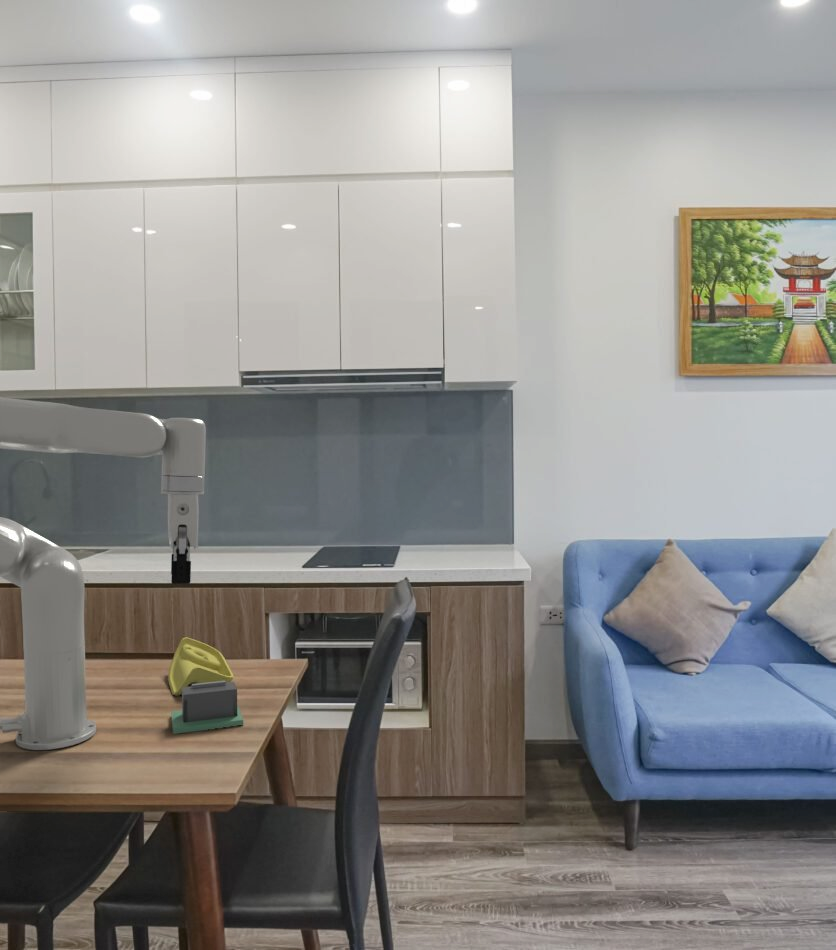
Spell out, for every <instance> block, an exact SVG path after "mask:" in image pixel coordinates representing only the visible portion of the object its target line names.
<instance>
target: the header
mask: <svg viewBox="0 0 836 950" xmlns="http://www.w3.org/2000/svg"><path fill="white" fill-rule="evenodd" d="M171 723H172V724H171V725H172V734H173V735H174V734H183V733H185V734H186V733H191V732H192V733H193V732H200V731H209V730H208V729H210V730H216V729H215V728H218V729H224V728H223V727H226V728H231V727H230V726H234V727H237V726H236V725H242V726H244V718H243V715H242V713H241V710H240V707H239V704H238V703H237V716H234V717H225V718H217V719H209V720H200V721H192V722H183V716H182V709H181V710H172V711H171Z"/></svg>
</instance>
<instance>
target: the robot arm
mask: <svg viewBox="0 0 836 950" xmlns="http://www.w3.org/2000/svg"><path fill="white" fill-rule="evenodd" d="M206 434H207V428H206V424H205V422H204V421H203V420H202V419H199V418H190V417H189V418H188V417H169V418H167V419H165V418H158V417H155V416H154V415H151V414H148V413H144V412H143V413H142V412H133V411H121V410H110V409H101V408H92V407H91V408H89V407H83V406H76V405H70V404H66V403H58V402H53V401H52V402H51V401H40V400H38V401H37V400H30V399H21V398H19V399H18V398H11V397H10V398H9V397H1V396H0V449H3V450H13V451H27V452H29V451H30V452H38V453H40V452H41V453H51V454H52V453H53V454H68V453H70V454H74V453H75V454H77V453H78V454H79V453H81V454H96V455H97V454H98V455H110V456H121V457H132V458H133V457H134V458H149V457H152V456H157V455H158V456H160V455H161V485H160V488H161V489H160V494H163V495H167V533H168V542H169V548H170V549H172V553H171V562H170V563H171V565H170V566H171V568H170V569H171V570H170V574H171V584H172V585H188V584H190V583H191V579H192V578H191V577H192V576H191V574H192V573H191V571H192V570H191V569H192V561H191V555H190V554H191V547H192V548H193V550H196V549H198V548H199V513H200V510H199V506H200V505H199V496H200V495H204V494H205V472H206V471H205V470H206V440H207V437H206V436H207V435H206ZM0 578H2V579H4V580H6V581H7V582H9V583H12V584H13V585H15V586H17V587H19V588H20V590H21V591H20V596H21V598H20V599H21V600H20V601H21V613H22V614H21V616H22V639H23V640H22V642H23V644H22V645H23V663H24V667H23V668H24V704H25V706H24V707H25V708H24V709H25V710H24V713H23V714H18V715H17V716H15V717H2V718H1V717H0V731H2V734H7V733H12V732H17V733H16V735H15V743H16V745H17V746H18V747H19V748H21V749H24V750H31V751H48V750H49V751H50V750H58V749H62V748H67V747H72V746H75V745H77V744H80V743H82V742H84V741H87V740H89V739H90V738H92V737H93V736H94V735H95V734H96V733H97V723H96V722H95V721H94V720H92V719H89V718H87V695H86V694H87V687H86V685H87V684H86V680H87V678H86V645H85V643H86V642H85V639H86V638H85V589H86V588H85V580H84V573H83V570H82V567H81V564H80V562H79V560H78V559H77V558H76V557H75V556H74V554H73V553H71V552H69V551H68V550H67V549H65V548H63V547H61V546H59V545H58V544H56V543H55V542H52V541H50V540H49V539H47V538H45V537H43V536H41V535H40V534H38V533H36V532H35V531H33V530H31V529H29V528H28V527H26V526H24V525H22V524H20V523H19V522H16V521H15V520H12V519H10V518H7V517H2V516H0Z"/></svg>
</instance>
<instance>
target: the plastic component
mask: <svg viewBox="0 0 836 950" xmlns="http://www.w3.org/2000/svg"><path fill="white" fill-rule="evenodd" d="M167 679H168V680H167V681H168V684H169V688H170V691H171V695H173V696H177V697H178V696H180V695H181V696H182V687H189V686H190V685H192V684H194V683H195V684H197V683H207V682H216V681H226V683H227V682H233V681H232V680H233V679H234V674H233V672H232V670H231V668H230V666H229V664H228V663H227V661H226V658H225V657H224V656H223V654H222V653H221V651H219V650H218V649H216V648H215V647H213V646H211V645H208V644H207V643H204V642H202V641H199V640H196V639H193V638H190V637H183V638H182V639H181V640H180V641H179V644H178V646H177V648H176V650H175V652H174V655H173V658H172V660H171V663H170V667H169V671H168V678H167Z"/></svg>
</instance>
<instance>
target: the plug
mask: <svg viewBox="0 0 836 950" xmlns="http://www.w3.org/2000/svg"><path fill="white" fill-rule="evenodd" d="M237 704H238V688H237V686H236V683H235V681H231V682H227V683H226V681H216V682H207V683H191V686H190V685H189V686H188V687H182V694H181V710H182V716H183V722H192V721H200V720H209V719H217V718H225V717H234V716H237Z"/></svg>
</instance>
